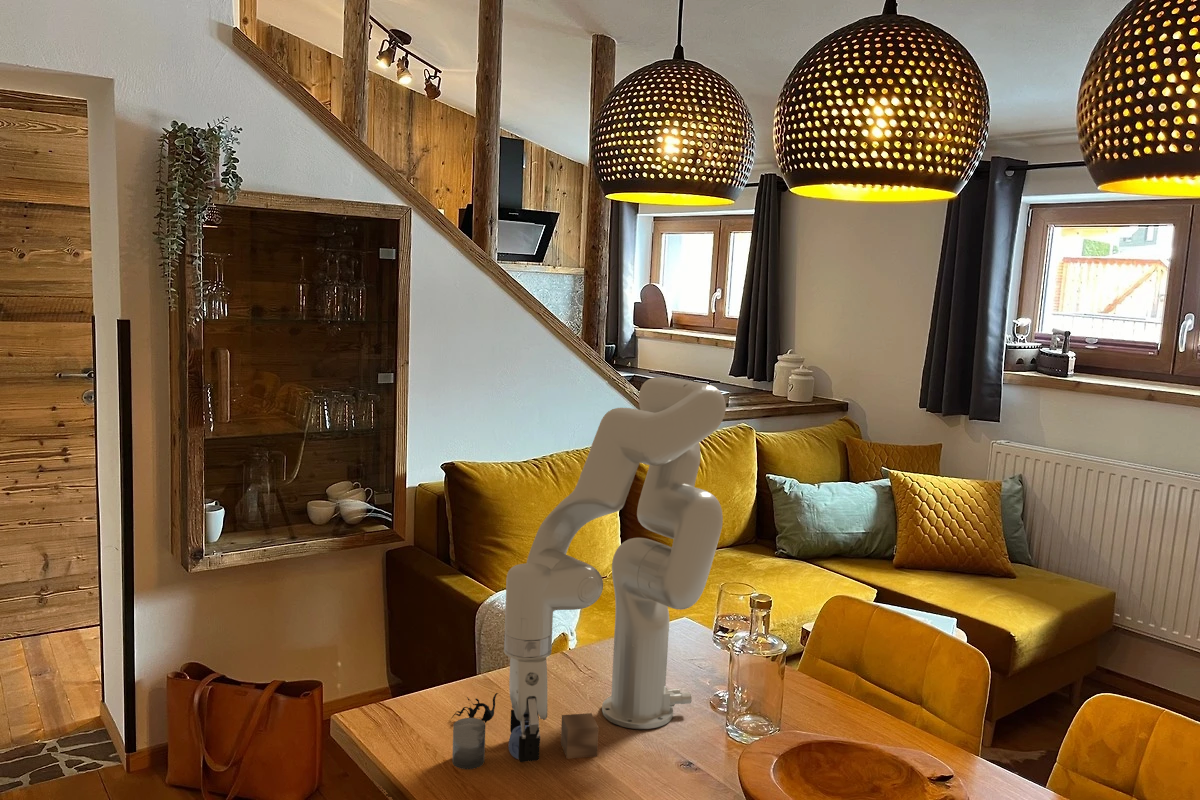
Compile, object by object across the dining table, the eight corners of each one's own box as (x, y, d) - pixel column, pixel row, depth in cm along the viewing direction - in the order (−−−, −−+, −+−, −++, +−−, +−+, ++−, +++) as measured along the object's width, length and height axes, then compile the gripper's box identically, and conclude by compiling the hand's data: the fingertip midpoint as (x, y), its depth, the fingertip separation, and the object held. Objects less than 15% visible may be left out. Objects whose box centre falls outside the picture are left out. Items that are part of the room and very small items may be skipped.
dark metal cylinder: (482, 752, 151) (483, 716, 150) (486, 768, 146) (487, 731, 145) (451, 754, 150) (452, 718, 149) (453, 770, 145) (454, 733, 144)
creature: (445, 737, 157) (490, 734, 156) (439, 707, 157) (484, 703, 155) (461, 717, 165) (504, 713, 163) (455, 687, 165) (498, 683, 163)
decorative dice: (517, 746, 153) (517, 723, 153) (540, 750, 152) (540, 727, 152) (507, 757, 150) (508, 734, 149) (531, 762, 148) (532, 738, 148)
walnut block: (590, 741, 156) (591, 713, 155) (597, 756, 151) (598, 727, 151) (560, 743, 155) (561, 715, 154) (566, 759, 150) (567, 729, 149)
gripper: (561, 663, 141) (557, 772, 143) (542, 621, 158) (538, 719, 160) (512, 666, 139) (508, 776, 142) (497, 623, 156) (494, 722, 158)
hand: (524, 745), depth 151 cm, fingers open, 8 cm apart
